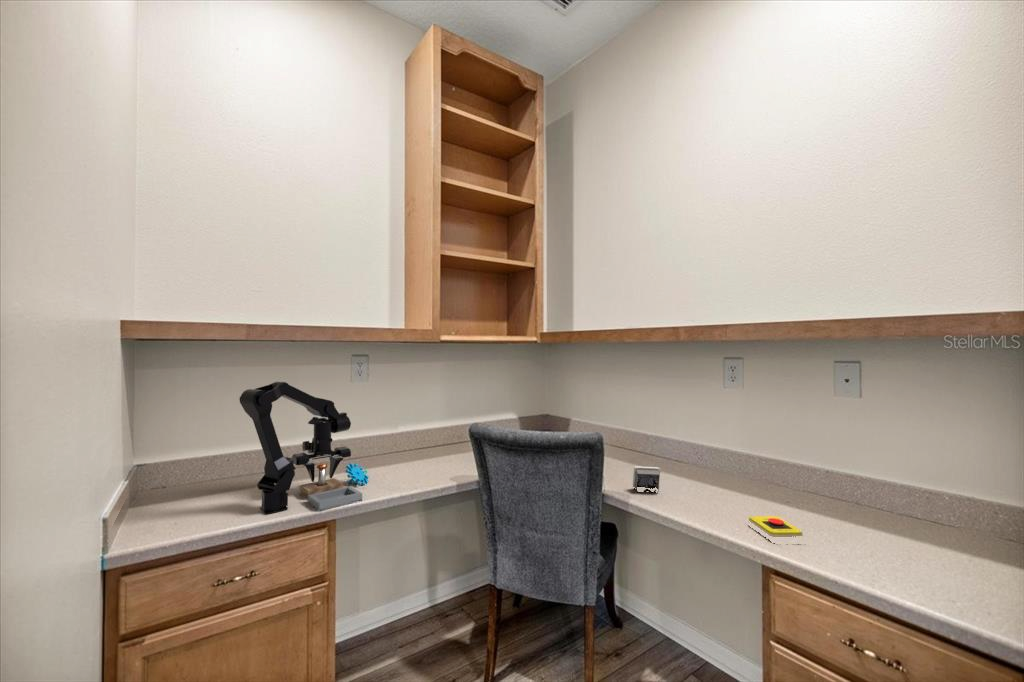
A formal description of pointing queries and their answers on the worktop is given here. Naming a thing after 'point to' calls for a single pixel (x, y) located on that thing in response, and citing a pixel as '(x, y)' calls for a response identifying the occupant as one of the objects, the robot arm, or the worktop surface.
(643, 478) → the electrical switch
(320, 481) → the pin
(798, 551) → the worktop surface
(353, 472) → the gear
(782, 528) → the emergency button
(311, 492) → the wooden block
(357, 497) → the tray
